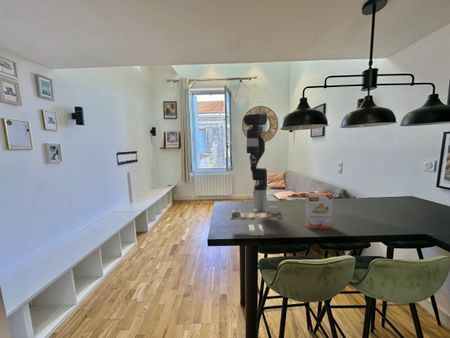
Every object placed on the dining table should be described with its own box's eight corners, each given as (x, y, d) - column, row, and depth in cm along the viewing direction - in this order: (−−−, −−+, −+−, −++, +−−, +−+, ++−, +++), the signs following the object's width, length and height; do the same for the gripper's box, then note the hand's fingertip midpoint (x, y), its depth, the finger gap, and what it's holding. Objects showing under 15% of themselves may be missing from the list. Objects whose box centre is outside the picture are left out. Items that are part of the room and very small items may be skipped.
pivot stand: (249, 235, 122) (249, 215, 120) (248, 226, 135) (248, 208, 133) (263, 235, 121) (263, 215, 120) (261, 226, 134) (261, 208, 133)
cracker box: (308, 229, 128) (309, 195, 126) (304, 225, 134) (305, 192, 132) (332, 228, 128) (333, 194, 126) (327, 225, 134) (328, 192, 132)
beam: (230, 220, 123) (230, 213, 123) (231, 215, 132) (231, 208, 132) (282, 220, 122) (282, 213, 121) (279, 215, 130) (279, 208, 130)
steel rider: (268, 213, 129) (268, 205, 129) (277, 213, 129) (277, 205, 128) (269, 216, 124) (269, 207, 124) (278, 216, 124) (278, 207, 123)
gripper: (259, 145, 129) (259, 172, 131) (257, 145, 143) (257, 169, 145) (246, 145, 130) (247, 172, 131) (246, 145, 144) (246, 170, 145)
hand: (252, 171), depth 138 cm, fingers open, 8 cm apart
